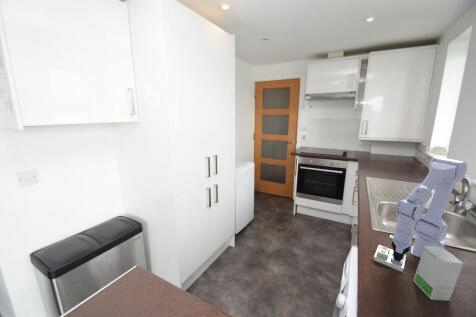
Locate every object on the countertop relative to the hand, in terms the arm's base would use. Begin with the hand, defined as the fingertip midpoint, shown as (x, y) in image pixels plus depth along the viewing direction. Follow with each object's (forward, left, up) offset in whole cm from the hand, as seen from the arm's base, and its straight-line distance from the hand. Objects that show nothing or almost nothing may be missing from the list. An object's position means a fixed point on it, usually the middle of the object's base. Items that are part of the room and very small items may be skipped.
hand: (397, 259), depth 86 cm
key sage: (+5, 0, -1) cm, 5 cm away
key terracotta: (+5, -5, -2) cm, 7 cm away
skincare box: (-11, +6, -3) cm, 13 cm away
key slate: (0, 0, -2) cm, 2 cm away
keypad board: (+2, -3, -3) cm, 5 cm away
